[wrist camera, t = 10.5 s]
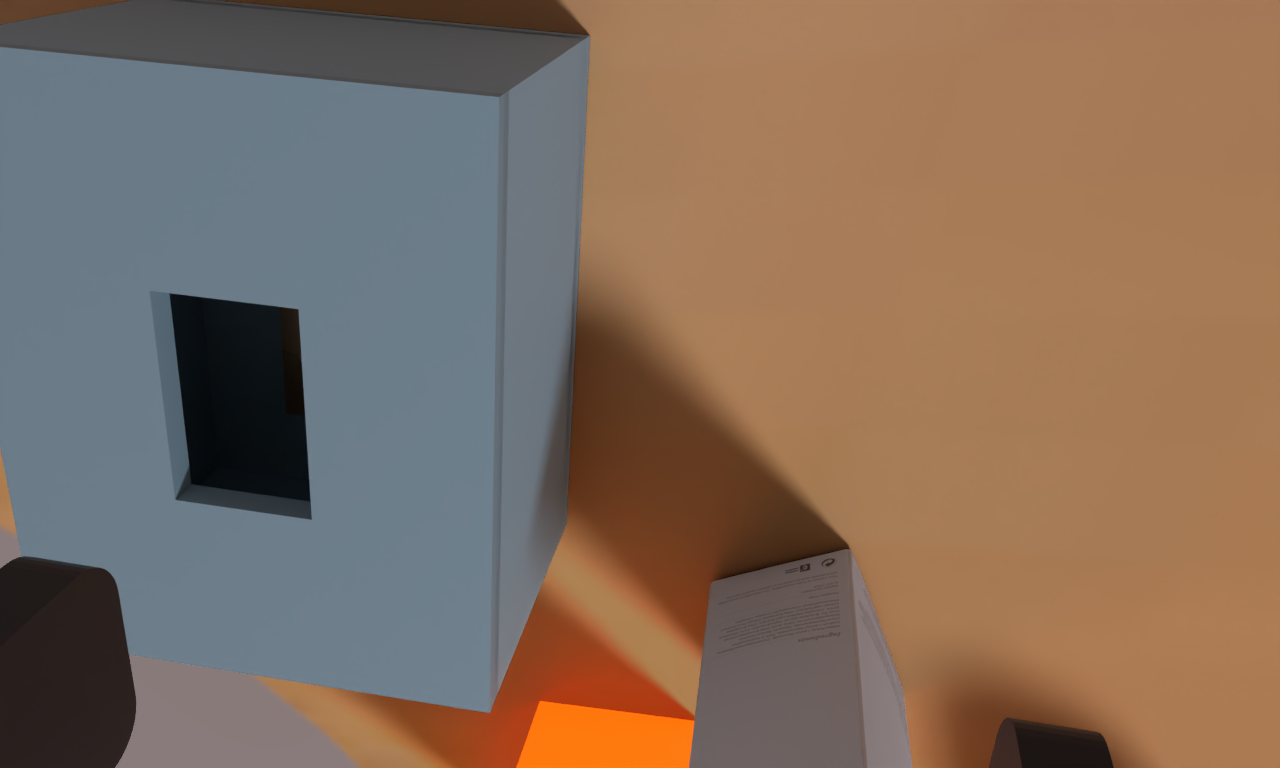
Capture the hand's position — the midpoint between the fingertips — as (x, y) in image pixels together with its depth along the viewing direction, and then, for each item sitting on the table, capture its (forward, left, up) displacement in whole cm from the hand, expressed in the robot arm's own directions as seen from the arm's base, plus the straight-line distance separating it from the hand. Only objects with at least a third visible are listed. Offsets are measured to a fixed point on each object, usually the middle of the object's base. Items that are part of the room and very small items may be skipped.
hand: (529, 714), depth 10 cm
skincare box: (-5, +23, -33) cm, 40 cm away
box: (+14, +9, -33) cm, 36 cm away
